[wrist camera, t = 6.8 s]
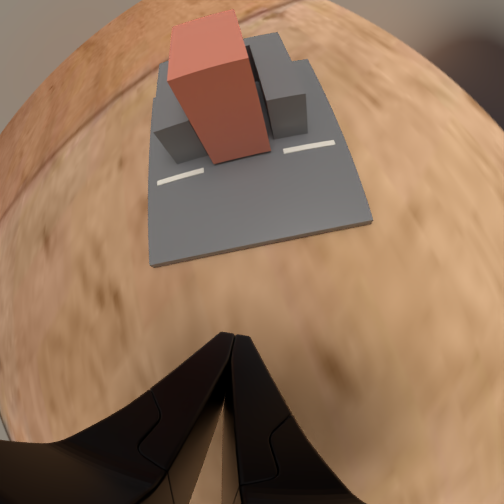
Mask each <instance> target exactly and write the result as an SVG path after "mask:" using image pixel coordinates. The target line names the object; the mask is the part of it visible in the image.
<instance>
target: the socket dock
mask: <svg viewBox="0 0 504 504" xmlns="http://www.w3.org/2000/svg"><path fill="white" fill-rule="evenodd" d="M243 41H244V44H245V47H246V51H247V54H248V58H249V62H250V65H251V69H252V73H253V77H254V81H255V85H256V89H257V93H258V97H259V101H260V105H261V109H262V113H263V118H264V122H265V126H266V130H267V135H268V139H269V143H270V148H271V151H268V152H263V153H259V154H254V155H250V156H246V157H241V158H237V159H233V160H229V161H225V162H221V163H217V164H213V162H212V160H211V158H210V157H209V155H208V153H207V151H206V150H205V148H204V146H203V144H202V142H201V141H200V139H199V137H198V135H197V133H196V132H195V130H194V128H193V126H192V125H191V123H190V121H189V119H188V117H187V116H186V114H185V112H184V110H183V109H182V107H181V105H180V103H179V102H178V100H177V98H176V96H175V95H174V93H173V91H172V89H171V87H170V86H169V84H168V82H167V75H168V63H169V61H166V62H163V63H161V64H160V65H159V73H158V82H157V91H156V97H155V98H153V108H152V120H151V134H150V150H149V176H148V238H149V264H150V266H152V267H159V266H164V265H169V264H174V263H179V262H183V261H188V260H193V259H198V258H203V257H208V256H213V255H218V254H223V253H227V252H232V251H237V250H242V249H247V248H252V247H257V246H262V245H267V244H272V243H277V242H282V241H287V240H292V239H297V238H302V237H307V236H312V235H317V234H322V233H327V232H332V231H337V230H342V229H347V228H352V227H357V226H362V225H367V224H371V223H372V221H373V218H372V214H371V211H370V208H369V205H368V202H367V199H366V196H365V193H364V190H363V187H362V184H361V181H360V178H359V175H358V173H357V170H356V167H355V164H354V162H353V159H352V156H351V154H350V151H349V149H348V146H347V144H346V141H345V139H344V136H343V134H342V131H341V129H340V127H339V124H338V122H337V120H336V117H335V115H334V113H333V110H332V108H331V106H330V104H329V102H328V99H327V97H326V95H325V93H324V91H323V89H322V87H321V85H320V83H319V81H318V79H317V77H316V75H315V73H314V71H313V69H312V67H311V65H310V63H309V61H308V59H305V60H298V61H291V59H290V57H289V55H288V52H287V50H286V48H285V46H284V44H283V42H282V40H281V38H280V36H279V34H278V32H276V33H270V34H265V35H259V36H254V37H250V38H245V39H243Z"/></svg>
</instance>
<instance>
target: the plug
mask: <svg viewBox="0 0 504 504" xmlns="http://www.w3.org/2000/svg"><path fill="white" fill-rule="evenodd" d="M167 82H168V84H169V86H170V87H171V89H172V91H173V93H174V95H175V96H176V98H177V100H178V102H179V103H180V105H181V107H182V109H183V110H184V112H185V114H186V116H187V117H188V119H189V121H190V123H191V125H192V126H193V128H194V130H195V132H196V133H197V135H198V137H199V139H200V141H201V142H202V144H203V146H204V148H205V150H206V151H207V153H208V155H209V157H210V158H211V160H212V162H213V164H217V163H221V162H225V161H229V160H233V159H237V158H241V157H246V156H250V155H254V154H259V153H263V152H268V151H271V148H270V143H269V139H268V135H267V130H266V126H265V122H264V118H263V113H262V109H261V105H260V101H259V97H258V93H257V89H256V85H255V81H254V77H253V73H252V69H251V65H250V62H249V58H248V54H247V51H246V47H245V44H244V41H243V37H242V34H241V31H240V27H239V24H238V21H237V18H236V14H235V11H234V9H232V10H227V11H223V12H219V13H216V14H212V15H208V16H205V17H201V18H198V19H195V20H191V21H188V22H185V23H182V24H179V25H176V26H173V27H172V34H171V43H170V53H169V63H168V75H167Z"/></svg>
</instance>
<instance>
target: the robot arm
mask: <svg viewBox="0 0 504 504" xmlns="http://www.w3.org/2000/svg"><path fill="white" fill-rule="evenodd" d="M224 399H225V400H224ZM223 403H224V410H223V444H222V504H366V503H364V502H363V501H361V500H360V499H359V498H357V497H356V496H355V495H354V494H353V493H351V491H350V490H349V489H348V488H347V487H346V486H345V485H344V484H343V483H342V481H341V480H340V479H339V478H338V477H337V476H336V474H335V473H334V472H333V471H332V470H331V468H330V467H329V466H328V465H327V464H326V462H325V461H324V460H323V459H322V458H321V456H320V455H319V454H318V453H317V451H316V450H315V449H314V447H313V446H312V445H311V443H310V442H309V441H308V439H307V438H306V436H305V434H304V433H303V431H302V430H301V428H300V427H299V425H298V423H297V421H296V420H295V418H294V416H293V415H292V413H291V411H290V409H289V407H288V406H287V404H286V402H285V400H284V399H283V397H282V395H281V393H280V391H279V390H278V388H277V386H276V384H275V382H274V381H273V379H272V377H271V375H270V373H269V371H268V370H267V368H266V366H265V364H264V362H263V360H262V358H261V357H260V355H259V353H258V351H257V349H256V347H255V345H254V343H253V341H252V340H251V338H250V337H249V336H245V335H239V334H237V335H236V336H235V335H234V334H233V333H227V332H220V333H219V334H217V335H216V336H215V337H214V338H213V339H211V340H210V341H209V342H208V343H207V344H205V345H204V346H203V347H202V348H200V349H199V350H198V351H197V352H196V353H194V354H193V355H192V356H191V357H189V358H188V359H187V360H186V361H184V362H183V363H182V364H181V365H179V366H178V367H177V368H176V369H174V370H173V371H172V372H171V373H169V374H168V375H167V376H166V377H164V378H163V379H162V380H161V381H159V382H158V383H157V384H155V385H154V386H153V387H152V388H150V390H147V391H146V392H145V393H144V394H142V395H141V396H140V397H138V398H137V399H135V400H134V401H133V402H131V403H130V404H128V405H127V406H126V407H124V408H122V409H121V410H119V411H117V412H116V413H114V414H112V415H111V416H109V417H107V418H105V419H103V420H101V421H100V422H98V423H96V424H94V425H92V426H90V427H88V428H86V429H84V430H83V431H81V432H79V433H77V434H75V435H73V436H71V437H69V438H66V439H64V440H61V441H57V442H53V443H26V442H15V441H5V440H0V504H189V502H190V499H191V496H192V493H193V491H194V488H195V485H196V482H197V480H198V477H199V474H200V471H201V468H202V465H203V463H204V460H205V457H206V454H207V451H208V448H209V445H210V443H211V440H212V437H213V434H214V431H215V428H216V425H217V422H218V419H219V416H220V413H221V410H222V407H223Z"/></svg>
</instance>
